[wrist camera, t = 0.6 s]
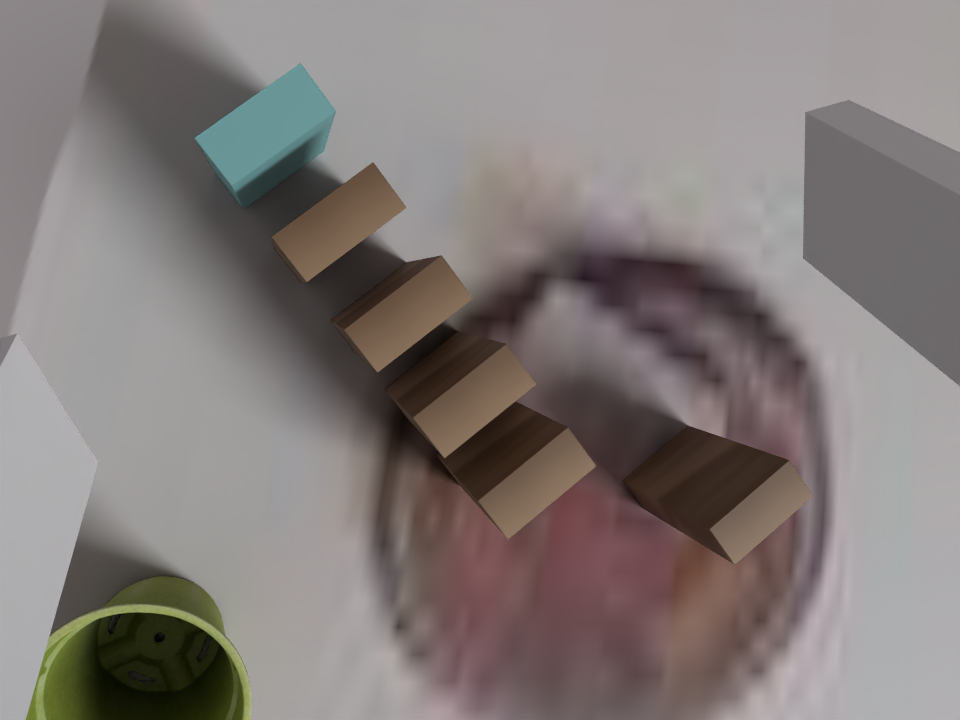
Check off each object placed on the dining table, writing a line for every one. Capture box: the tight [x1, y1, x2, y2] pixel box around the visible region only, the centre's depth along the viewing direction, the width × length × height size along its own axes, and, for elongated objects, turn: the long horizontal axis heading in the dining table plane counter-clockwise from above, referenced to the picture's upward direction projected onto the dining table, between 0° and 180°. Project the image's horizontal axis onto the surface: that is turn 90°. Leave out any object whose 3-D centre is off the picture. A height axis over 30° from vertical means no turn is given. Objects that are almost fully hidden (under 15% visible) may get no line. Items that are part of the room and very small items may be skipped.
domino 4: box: [385, 332, 536, 458], centre depth 40 cm, size 2×5×10 cm, turn 127°
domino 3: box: [331, 255, 473, 372], centre depth 39 cm, size 2×5×10 cm, turn 127°
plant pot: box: [26, 576, 252, 720], centre depth 38 cm, size 9×9×9 cm
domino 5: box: [436, 402, 596, 539], centre depth 41 cm, size 2×5×10 cm, turn 126°
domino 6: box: [623, 426, 813, 564], centre depth 44 cm, size 2×5×10 cm, turn 127°
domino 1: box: [195, 63, 336, 209], centre depth 37 cm, size 2×5×10 cm, turn 127°
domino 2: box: [272, 163, 406, 283], centre depth 38 cm, size 2×5×10 cm, turn 127°
